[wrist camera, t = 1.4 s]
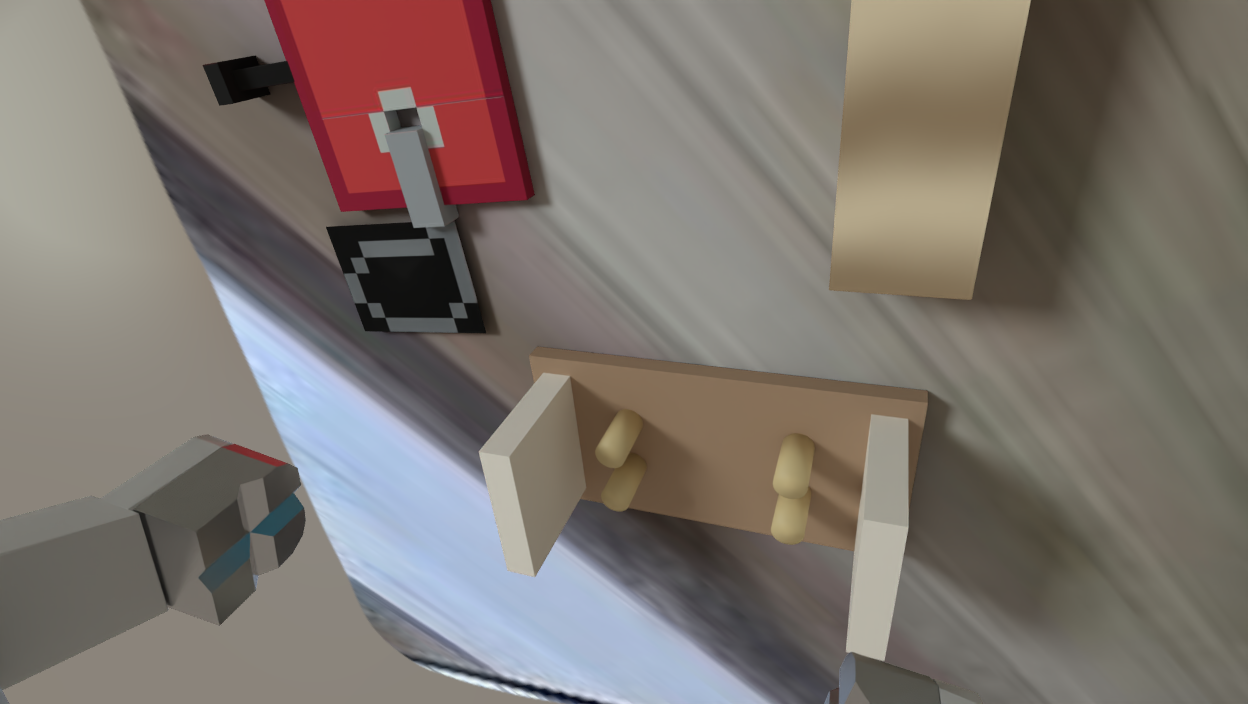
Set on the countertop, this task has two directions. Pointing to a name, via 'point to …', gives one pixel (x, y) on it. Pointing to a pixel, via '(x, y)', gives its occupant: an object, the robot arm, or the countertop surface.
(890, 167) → the tan wooden block
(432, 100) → the red board with handle
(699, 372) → the cradle
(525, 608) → the countertop surface
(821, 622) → the countertop surface
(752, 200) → the countertop surface
